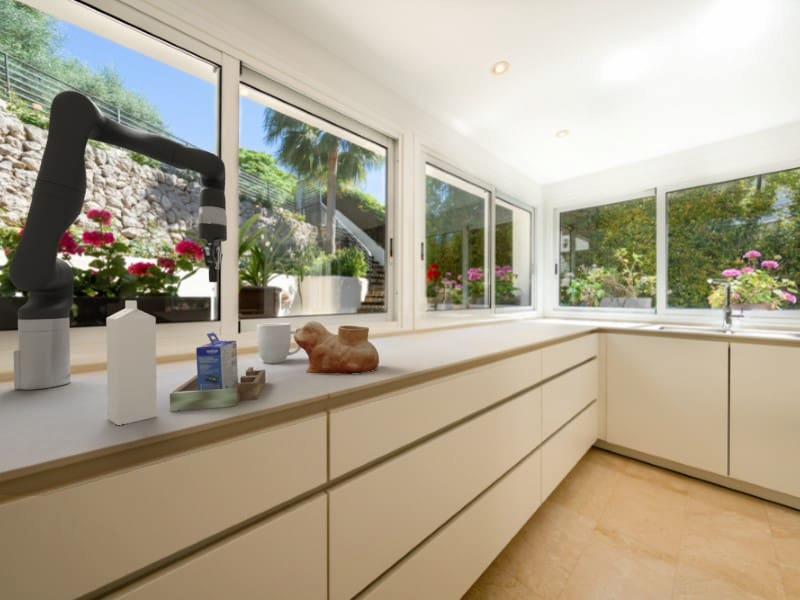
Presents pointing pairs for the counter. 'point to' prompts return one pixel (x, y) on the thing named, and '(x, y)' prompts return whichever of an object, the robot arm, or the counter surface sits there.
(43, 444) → the counter surface
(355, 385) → the counter surface
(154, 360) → the milk
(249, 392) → the wooden compartment tray
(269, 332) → the mug
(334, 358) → the ceramic vessel
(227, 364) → the ink cartridge box
